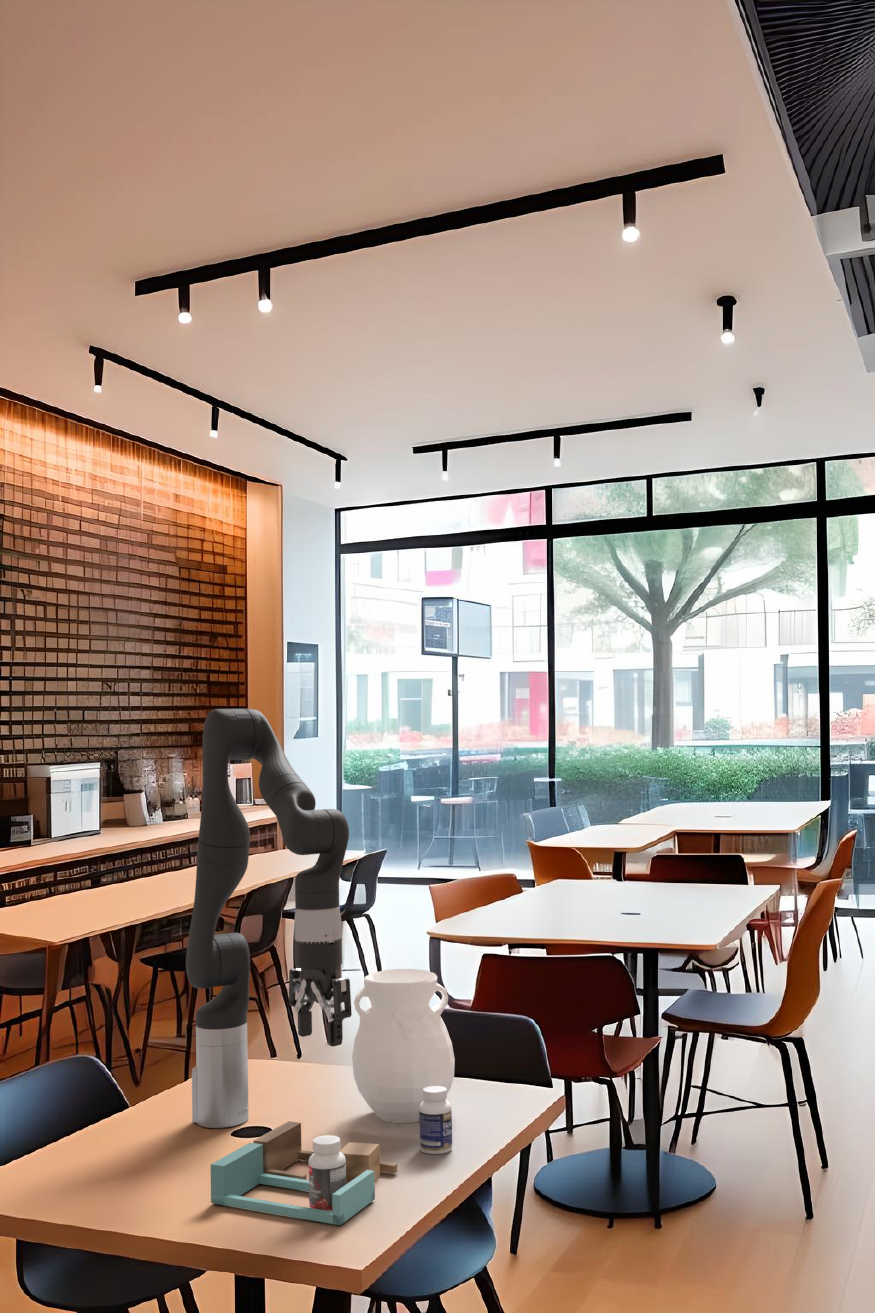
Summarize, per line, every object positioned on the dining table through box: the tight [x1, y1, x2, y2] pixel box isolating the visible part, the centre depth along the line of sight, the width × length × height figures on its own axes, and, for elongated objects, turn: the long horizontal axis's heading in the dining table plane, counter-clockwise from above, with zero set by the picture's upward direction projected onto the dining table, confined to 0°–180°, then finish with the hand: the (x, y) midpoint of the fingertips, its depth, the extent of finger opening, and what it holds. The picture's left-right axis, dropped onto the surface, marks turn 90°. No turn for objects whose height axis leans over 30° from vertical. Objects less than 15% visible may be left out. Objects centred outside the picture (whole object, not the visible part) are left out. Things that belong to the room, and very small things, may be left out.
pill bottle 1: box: [308, 1134, 346, 1212], centre depth 165 cm, size 5×5×10 cm
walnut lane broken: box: [252, 1121, 398, 1184], centre depth 178 cm, size 20×10×6 cm, turn 65°
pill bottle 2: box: [418, 1086, 453, 1155], centre depth 188 cm, size 5×5×10 cm
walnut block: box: [339, 1142, 381, 1183], centre depth 175 cm, size 5×5×5 cm
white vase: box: [351, 968, 456, 1124], centre depth 207 cm, size 19×18×25 cm
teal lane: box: [210, 1142, 376, 1226], centre depth 167 cm, size 22×10×6 cm, turn 65°
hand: (320, 1040), depth 179 cm, fingers open, 8 cm apart
